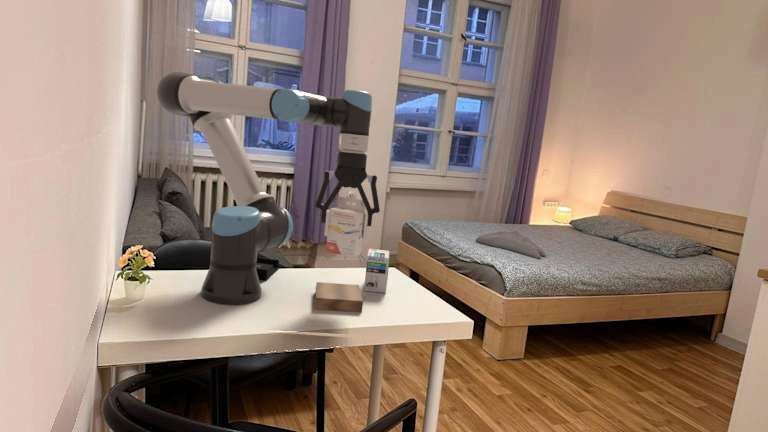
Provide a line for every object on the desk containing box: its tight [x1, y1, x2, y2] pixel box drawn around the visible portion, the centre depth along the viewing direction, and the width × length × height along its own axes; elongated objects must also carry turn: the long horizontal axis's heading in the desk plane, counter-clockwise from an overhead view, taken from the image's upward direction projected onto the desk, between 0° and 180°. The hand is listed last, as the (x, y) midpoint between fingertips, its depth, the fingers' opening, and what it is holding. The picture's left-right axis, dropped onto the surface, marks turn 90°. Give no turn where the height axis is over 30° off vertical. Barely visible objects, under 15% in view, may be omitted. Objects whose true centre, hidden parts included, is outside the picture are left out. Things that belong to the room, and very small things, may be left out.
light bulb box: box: [363, 248, 391, 294], centre depth 158 cm, size 11×7×11 cm, turn 179°
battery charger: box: [256, 256, 280, 282], centre depth 159 cm, size 13×10×4 cm
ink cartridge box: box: [325, 195, 366, 258], centre depth 138 cm, size 9×5×15 cm, turn 71°
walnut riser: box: [314, 281, 364, 313], centre depth 141 cm, size 12×14×3 cm
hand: (345, 236), depth 139 cm, fingers closed on ink cartridge box, 9 cm apart
